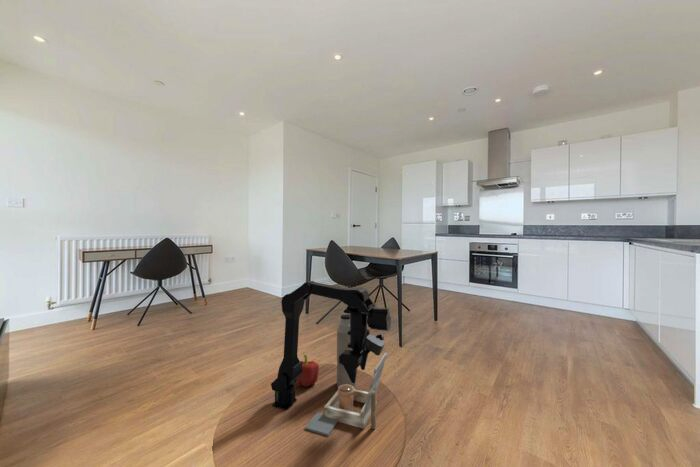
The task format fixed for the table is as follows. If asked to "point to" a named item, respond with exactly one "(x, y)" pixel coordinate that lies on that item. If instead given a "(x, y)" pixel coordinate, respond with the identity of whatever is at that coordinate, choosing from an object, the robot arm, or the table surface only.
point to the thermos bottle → (342, 345)
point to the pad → (321, 424)
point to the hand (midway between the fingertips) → (358, 376)
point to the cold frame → (359, 396)
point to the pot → (346, 397)
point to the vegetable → (308, 373)
